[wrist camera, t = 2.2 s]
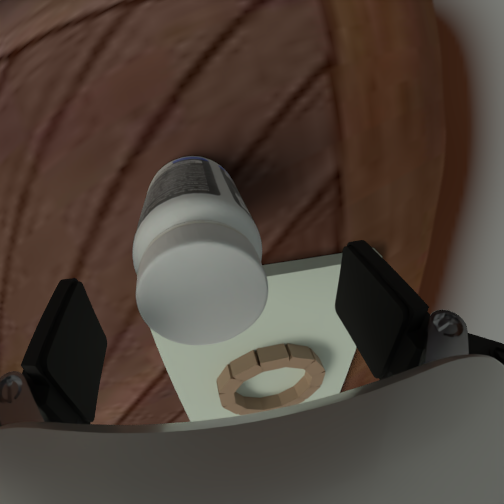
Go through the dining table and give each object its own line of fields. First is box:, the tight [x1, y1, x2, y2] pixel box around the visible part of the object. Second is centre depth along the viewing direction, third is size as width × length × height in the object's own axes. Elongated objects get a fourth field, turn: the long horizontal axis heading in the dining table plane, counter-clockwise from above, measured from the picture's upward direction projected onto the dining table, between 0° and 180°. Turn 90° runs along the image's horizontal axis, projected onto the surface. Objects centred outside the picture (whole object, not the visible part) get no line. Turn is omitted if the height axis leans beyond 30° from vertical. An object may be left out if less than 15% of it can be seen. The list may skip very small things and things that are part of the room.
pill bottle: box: [133, 156, 268, 345], centre depth 12 cm, size 5×5×8 cm
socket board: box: [150, 248, 382, 422], centre depth 23 cm, size 22×16×3 cm
